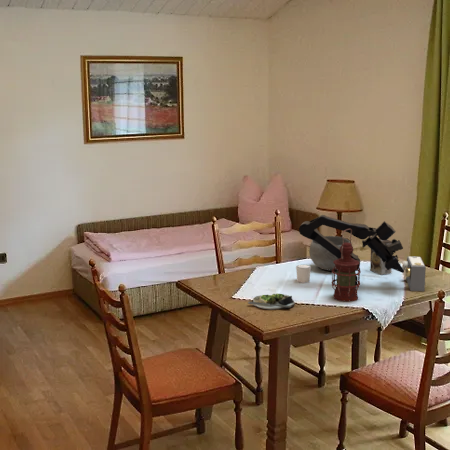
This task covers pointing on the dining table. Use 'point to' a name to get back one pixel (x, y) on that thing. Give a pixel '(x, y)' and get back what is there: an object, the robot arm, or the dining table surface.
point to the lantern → (346, 274)
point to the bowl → (325, 253)
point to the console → (416, 274)
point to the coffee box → (379, 262)
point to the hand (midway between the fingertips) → (403, 271)
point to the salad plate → (273, 301)
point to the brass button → (407, 272)
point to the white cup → (303, 273)
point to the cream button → (405, 265)
